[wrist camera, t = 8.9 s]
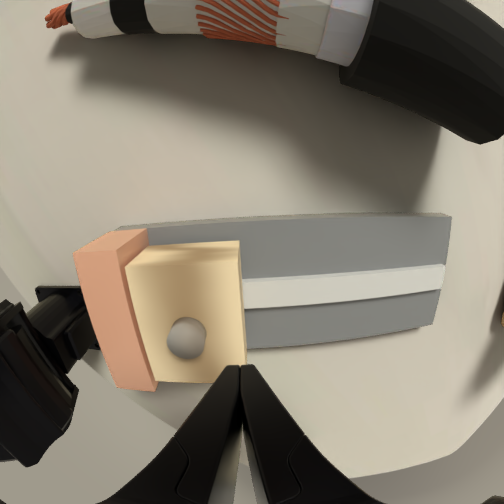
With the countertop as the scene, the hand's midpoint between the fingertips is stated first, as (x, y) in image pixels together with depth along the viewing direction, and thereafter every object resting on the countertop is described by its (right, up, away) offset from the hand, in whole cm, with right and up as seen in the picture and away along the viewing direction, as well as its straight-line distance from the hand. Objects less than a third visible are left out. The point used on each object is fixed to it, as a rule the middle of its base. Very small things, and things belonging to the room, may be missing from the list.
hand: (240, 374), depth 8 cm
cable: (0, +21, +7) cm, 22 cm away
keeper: (-3, +1, +11) cm, 11 cm away
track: (+4, +2, +13) cm, 14 cm away
